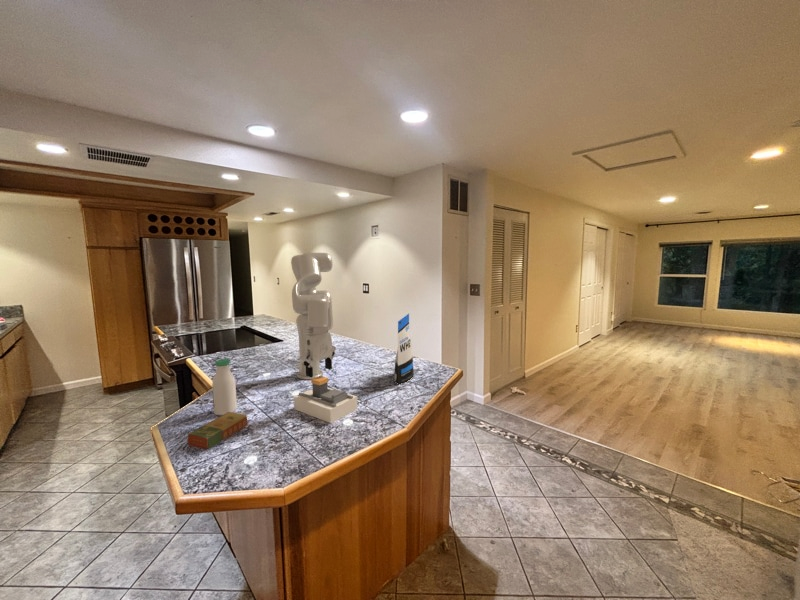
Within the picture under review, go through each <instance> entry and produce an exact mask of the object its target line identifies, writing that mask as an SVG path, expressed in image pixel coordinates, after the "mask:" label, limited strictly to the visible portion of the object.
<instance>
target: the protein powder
mask: <svg viewBox="0 0 800 600" xmlns="http://www.w3.org/2000/svg"><path fill="white" fill-rule="evenodd" d="M414 372H415V371H414V357H413V347H412V342H411V336H410V313H408V314H406V315H405V316H403V317H402V318H401V319H399V320H397V351H396V355H395V363H394V371H393V380H395V381H394V383H395V382H396V383H395V384H397V383H398V384H397V386H400V385H402V384H401V383H404V382H407V381H408V380H410V379H411V378H412V377H413V375H414ZM413 378H414V377H413ZM413 378H412V379H413ZM412 379H411V380H412ZM411 380H410V381H411ZM408 382H409V381H408ZM408 382H407V383H408ZM399 384H400V385H399ZM404 384H405V383H404Z"/></svg>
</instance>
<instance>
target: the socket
mask: <svg viewBox="0 0 800 600" xmlns="http://www.w3.org/2000/svg"><path fill="white" fill-rule="evenodd" d="M327 388H328V392H329V391H331V390H333V389H334V388H331V387H328V386H327ZM346 393H347V396H348V398H347V399H345V400H343V401H340V402H338V403H336V404H333V403H330V402H328V401H325V400H322V399H321V398H320V399H319V398H316V397H313V388H312V389H309V390H306V391H303V392H298V395H295V396H293V409H294V410H295V411H297V412H298V411H299V412H301V413H303V414H306V415H308V416H311V417H314V418H316V419H319V420H320V421H324V422H326V423H329V424H333V423H334V422H336V421H338V420H340V419H341V418H344V417H345V416H347V415H349V414H351V413H352V412H355V411H356V410H358V396H357V395H355V394H354V395H353V394H351V393H348V392H346Z"/></svg>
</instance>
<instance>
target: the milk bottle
mask: <svg viewBox="0 0 800 600" xmlns="http://www.w3.org/2000/svg"><path fill="white" fill-rule="evenodd" d="M230 362H231V361H230V359H229V358H221V359H218V360H215V367H216V369H215V370H216V371H215V374H214V377H213V379H212V383H211V384H212V385H211V386H212V387H211V388H212V404H213V413H214V415H216V416H222V415H224V414H226V413H228V412H233V413H236V411H237V410H238V409H237V408H238V407H237V405H238V404H237V402H238V401H237V390H236V389H237V388H236V379H235V377H234V374H233V373H232V371H231V369H230V365H231V364H230Z"/></svg>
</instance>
